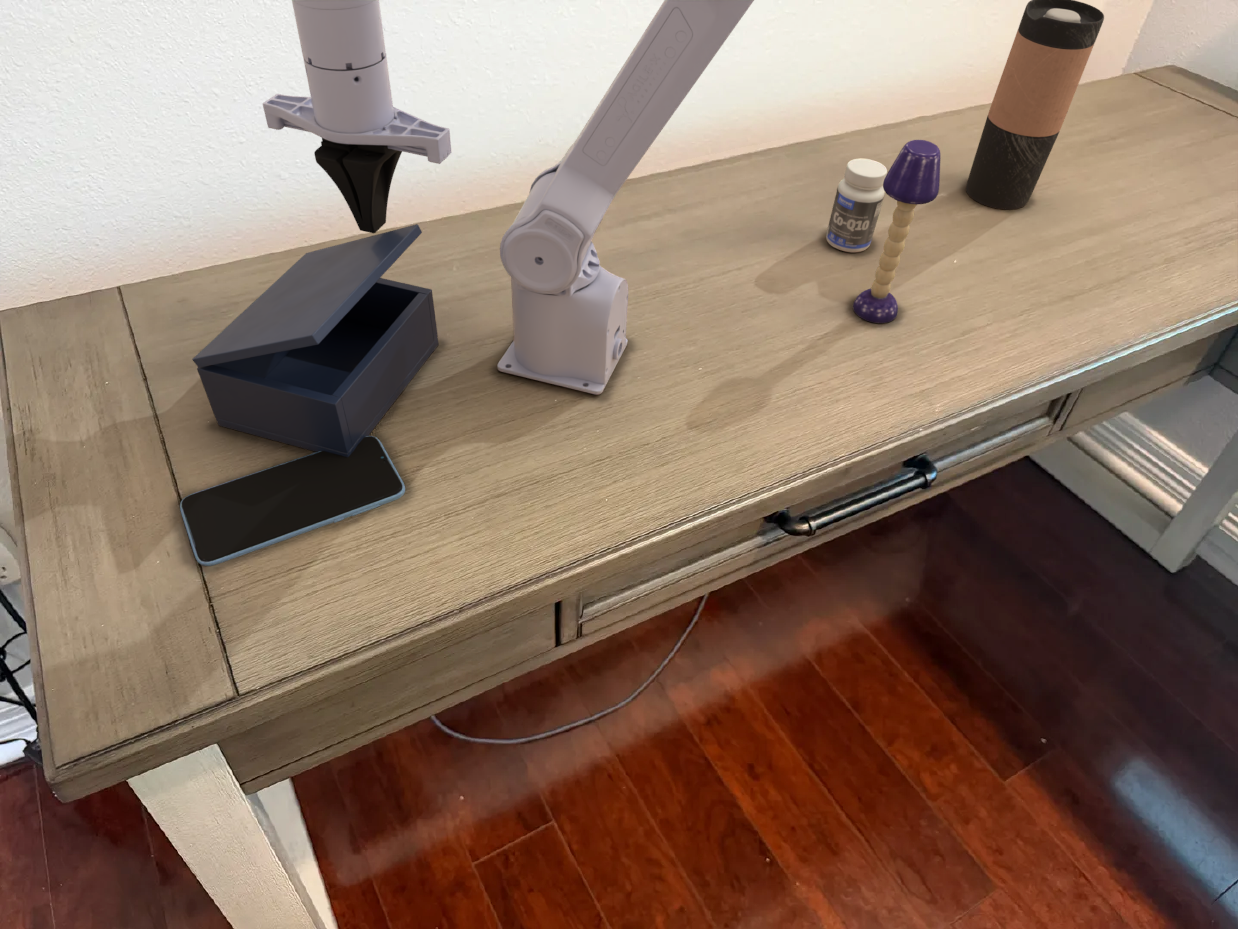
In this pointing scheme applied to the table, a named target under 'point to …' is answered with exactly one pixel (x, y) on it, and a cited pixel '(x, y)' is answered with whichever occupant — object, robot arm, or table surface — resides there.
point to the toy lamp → (900, 222)
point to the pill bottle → (857, 205)
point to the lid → (308, 298)
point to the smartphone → (288, 501)
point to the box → (330, 374)
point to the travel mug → (1032, 100)
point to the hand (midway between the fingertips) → (372, 226)
